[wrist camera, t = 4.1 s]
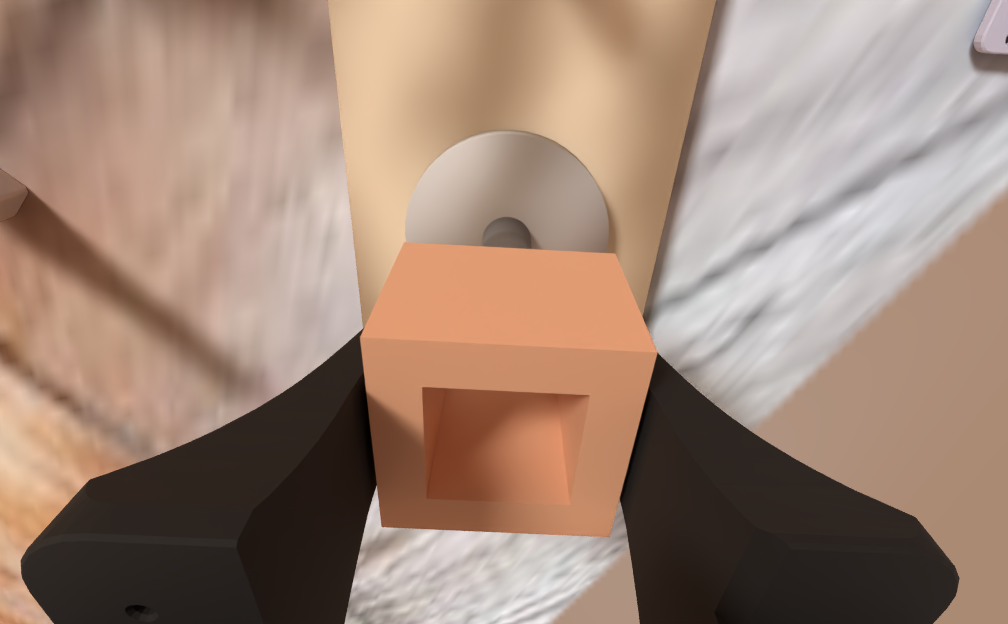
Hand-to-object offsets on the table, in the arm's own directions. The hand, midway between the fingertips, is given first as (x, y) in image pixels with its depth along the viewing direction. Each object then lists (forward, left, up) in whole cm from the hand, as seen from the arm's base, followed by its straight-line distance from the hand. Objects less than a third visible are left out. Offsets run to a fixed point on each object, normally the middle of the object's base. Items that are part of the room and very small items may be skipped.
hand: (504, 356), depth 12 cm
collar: (0, 0, -1) cm, 1 cm away
